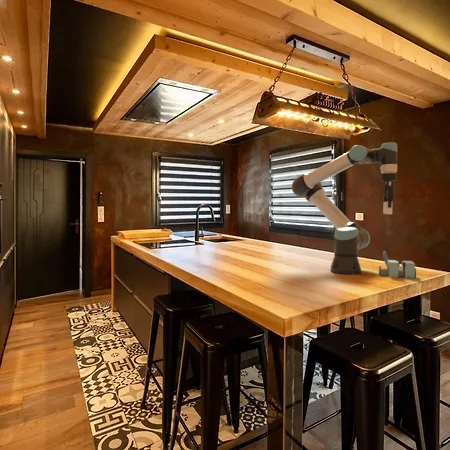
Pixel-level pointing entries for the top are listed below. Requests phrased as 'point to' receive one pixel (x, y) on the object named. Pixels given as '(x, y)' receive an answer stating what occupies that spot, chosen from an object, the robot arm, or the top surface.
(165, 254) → the top surface
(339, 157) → the robot arm
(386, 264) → the grey small pieces
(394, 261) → the grey green block
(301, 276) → the top surface
